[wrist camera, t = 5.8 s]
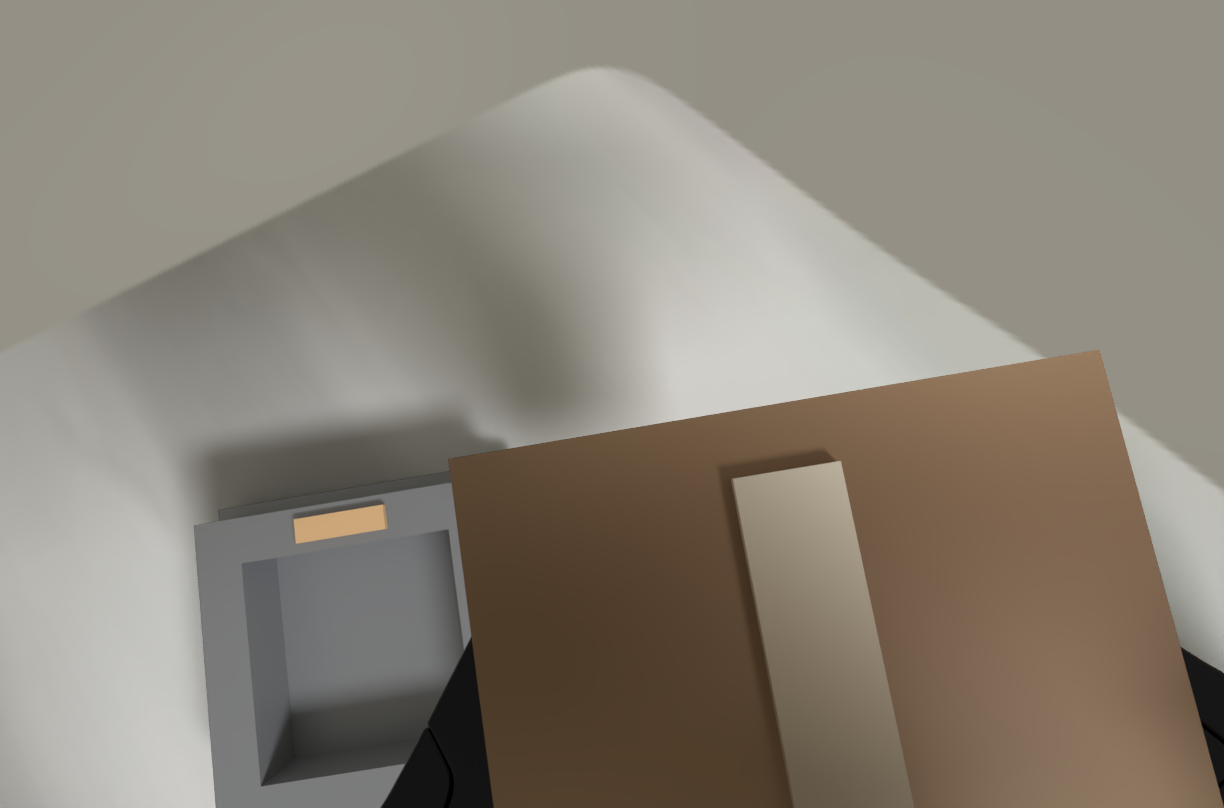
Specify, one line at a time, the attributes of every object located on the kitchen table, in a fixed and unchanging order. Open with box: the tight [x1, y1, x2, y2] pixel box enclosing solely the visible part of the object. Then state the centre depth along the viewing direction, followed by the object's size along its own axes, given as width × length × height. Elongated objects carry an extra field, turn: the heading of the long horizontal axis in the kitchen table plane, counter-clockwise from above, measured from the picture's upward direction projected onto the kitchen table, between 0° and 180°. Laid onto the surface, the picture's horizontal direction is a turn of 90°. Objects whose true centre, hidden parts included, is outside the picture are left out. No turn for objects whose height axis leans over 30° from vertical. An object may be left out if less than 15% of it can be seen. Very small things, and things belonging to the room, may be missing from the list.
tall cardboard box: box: [448, 350, 1224, 808], centre depth 10 cm, size 5×5×12 cm
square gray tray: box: [194, 471, 471, 808], centre depth 21 cm, size 11×11×3 cm
